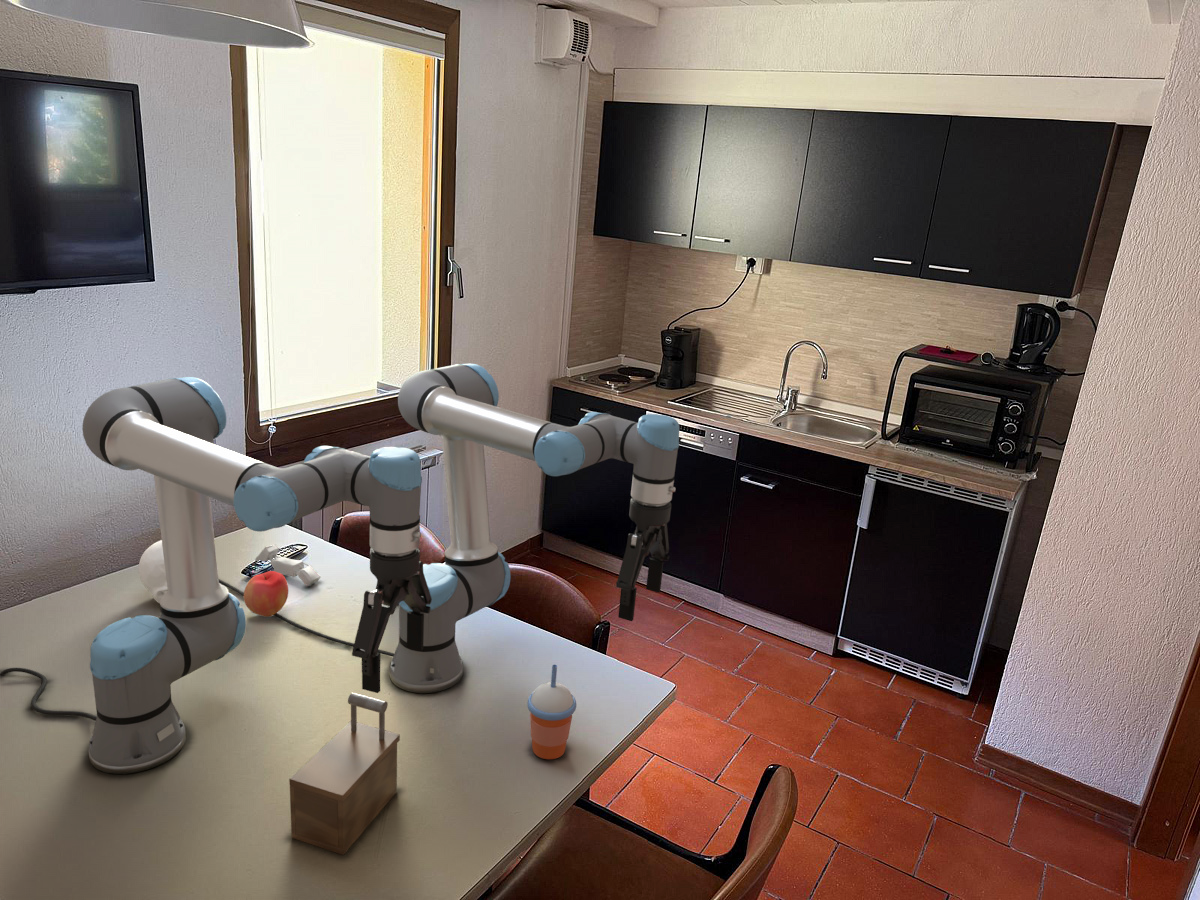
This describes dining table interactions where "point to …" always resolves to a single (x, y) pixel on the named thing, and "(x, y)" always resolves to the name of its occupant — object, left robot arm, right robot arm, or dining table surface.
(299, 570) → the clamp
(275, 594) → the apple
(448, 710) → the dining table surface
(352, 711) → the lid
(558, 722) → the cup with straw
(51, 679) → the dining table surface
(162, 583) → the skull
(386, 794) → the chest
